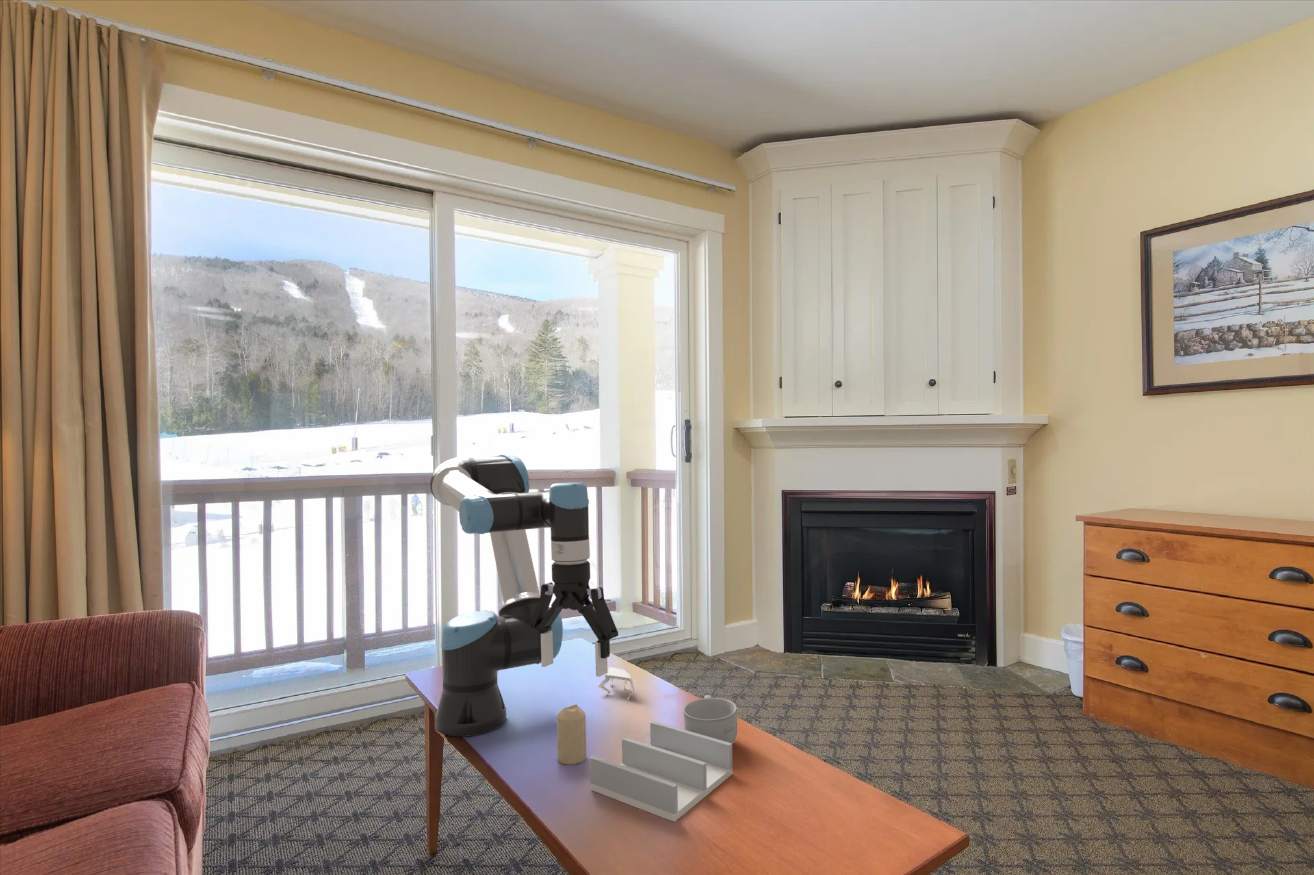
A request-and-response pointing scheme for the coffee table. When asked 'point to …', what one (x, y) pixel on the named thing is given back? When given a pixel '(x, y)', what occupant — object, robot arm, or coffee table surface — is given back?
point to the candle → (571, 735)
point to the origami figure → (617, 674)
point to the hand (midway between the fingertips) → (573, 669)
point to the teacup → (712, 718)
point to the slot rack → (664, 771)
